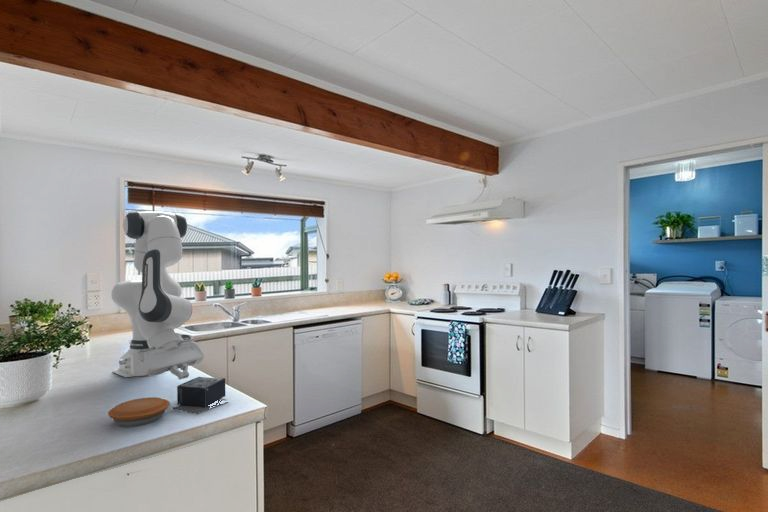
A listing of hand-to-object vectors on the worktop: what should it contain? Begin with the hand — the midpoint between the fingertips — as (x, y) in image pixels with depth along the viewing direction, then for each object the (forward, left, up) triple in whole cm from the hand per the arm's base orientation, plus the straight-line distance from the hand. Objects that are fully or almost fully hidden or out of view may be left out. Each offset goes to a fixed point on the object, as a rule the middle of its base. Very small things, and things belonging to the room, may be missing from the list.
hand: (184, 377), depth 134 cm
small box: (+1, +1, -4) cm, 4 cm away
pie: (+2, -16, -8) cm, 18 cm away
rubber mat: (+8, 0, -8) cm, 11 cm away
